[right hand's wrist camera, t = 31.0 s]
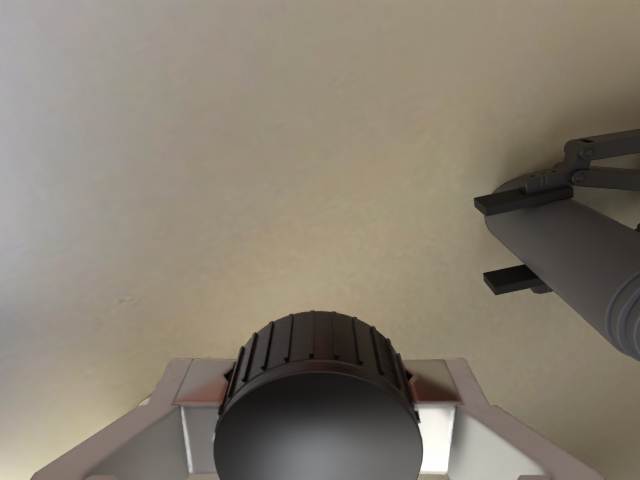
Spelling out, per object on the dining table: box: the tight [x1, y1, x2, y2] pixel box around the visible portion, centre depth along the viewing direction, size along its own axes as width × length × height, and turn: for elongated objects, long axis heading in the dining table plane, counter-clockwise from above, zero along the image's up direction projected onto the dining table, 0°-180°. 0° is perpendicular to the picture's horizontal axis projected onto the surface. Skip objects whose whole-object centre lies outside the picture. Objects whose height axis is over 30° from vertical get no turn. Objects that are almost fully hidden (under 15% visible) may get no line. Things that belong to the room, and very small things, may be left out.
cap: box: [213, 310, 423, 480], centre depth 9 cm, size 4×4×2 cm
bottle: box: [485, 179, 640, 361], centre depth 30 cm, size 6×6×24 cm
